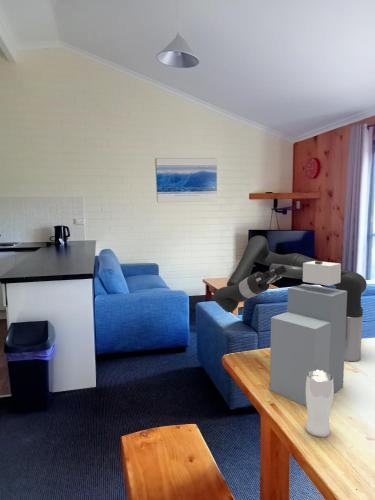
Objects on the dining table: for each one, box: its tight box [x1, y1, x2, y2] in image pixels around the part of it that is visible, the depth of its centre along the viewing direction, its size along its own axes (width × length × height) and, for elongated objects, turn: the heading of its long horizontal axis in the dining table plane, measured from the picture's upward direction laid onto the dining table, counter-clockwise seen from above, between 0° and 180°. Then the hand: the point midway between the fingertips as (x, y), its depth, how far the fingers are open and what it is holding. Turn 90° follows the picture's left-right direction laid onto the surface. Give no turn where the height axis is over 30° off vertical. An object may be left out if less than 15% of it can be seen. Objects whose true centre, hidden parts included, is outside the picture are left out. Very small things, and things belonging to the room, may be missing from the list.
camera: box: [268, 260, 342, 287], centre depth 117 cm, size 7×23×7 cm, turn 41°
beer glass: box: [305, 370, 335, 438], centre depth 92 cm, size 7×7×15 cm
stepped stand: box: [269, 283, 347, 407], centre depth 112 cm, size 19×15×32 cm
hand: (288, 267), depth 121 cm, fingers closed on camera, 4 cm apart
